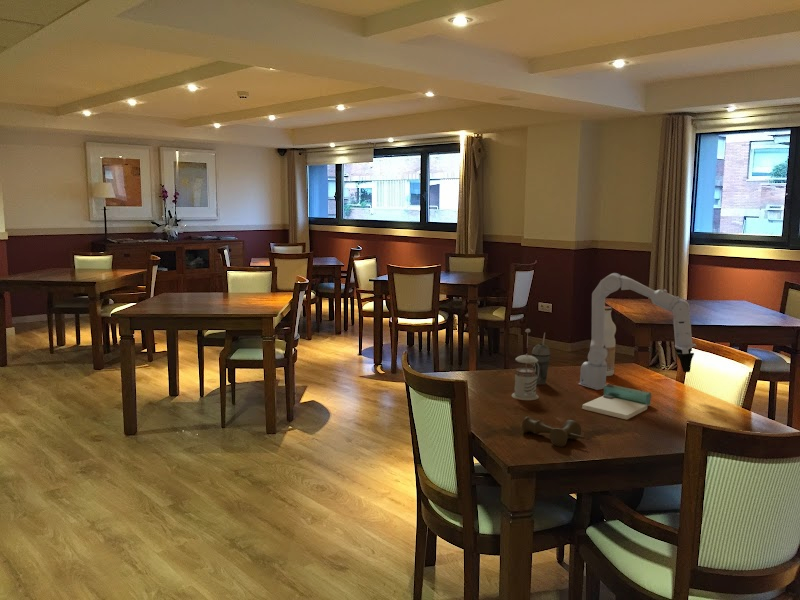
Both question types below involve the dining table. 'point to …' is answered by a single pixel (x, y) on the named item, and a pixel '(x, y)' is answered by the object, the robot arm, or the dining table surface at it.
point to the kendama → (554, 430)
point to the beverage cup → (541, 361)
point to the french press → (525, 378)
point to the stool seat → (614, 407)
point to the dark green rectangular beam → (628, 394)
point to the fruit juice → (609, 340)
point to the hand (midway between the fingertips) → (685, 369)
